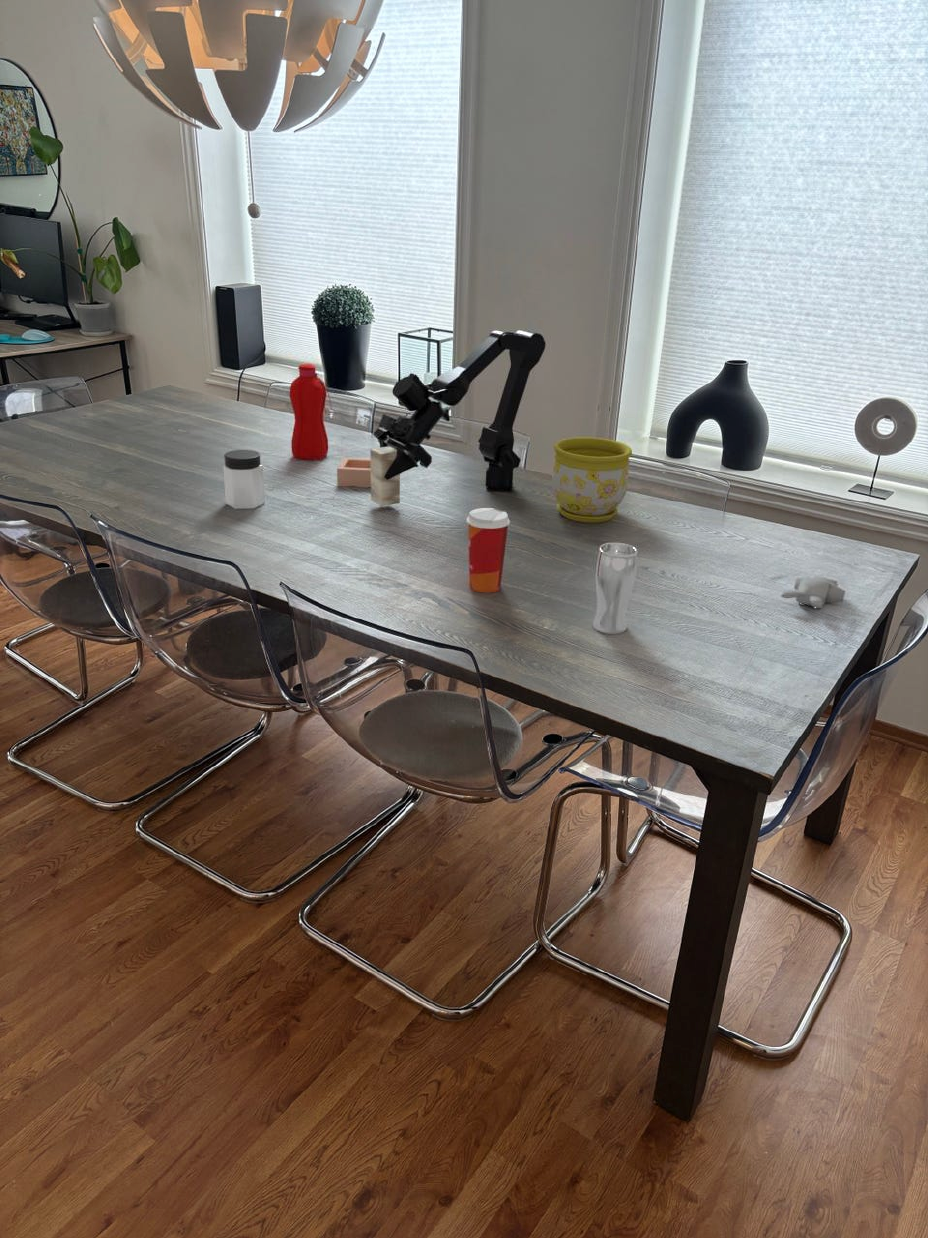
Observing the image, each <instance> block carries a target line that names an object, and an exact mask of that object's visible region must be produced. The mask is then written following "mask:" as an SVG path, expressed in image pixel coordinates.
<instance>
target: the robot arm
mask: <svg viewBox="0 0 928 1238" xmlns="http://www.w3.org/2000/svg"><path fill="white" fill-rule="evenodd" d="M506 350H508V351H509V352H508V353H509V360H510V367H509V370H508V373H507V378H506V381H505V384H504V387H503V391H502V394H501V397H500V400H499V404H498V406H497V411H496V413H495V417H494V420H493V422H492V423H491V424H490V425H489V427H487V426H483V428H482V429H481V434H480V435H481V436H480V437H479V439H478V443H479V444H478V449H479V451H480V454H481V455H482V457H483V461H484V462H486V463H488V467H487V468H486V470H485V487H487V488H486V491H488V492H489V491H490V492H508V493H510V492H511V493H512V492H514V491H513V490H514V487H513V486H514V483H513V482H514V481H513V480H514V469H517V468H519V466H520V463H521V461H522V460H521V458H520V456H519V455H517V453H515V451H514V445H515V436H514V430H513V428H514V423H515V420H516V417H517V415H518V411H519V408H520V405H521V402H522V399H523V396H524V392H525V389H526V386H527V382H528V379H529V376H530V374H531V373H530V372H531V371H532V370H533V369H534V368H535V366H537V364H539V362H540V361H541V358H542V356H543V354H544V352H545V350H546V341H545V337H544V336H543V335H542V334H541V333H538V332H533V331H530V330H527V329H518V330H517V331H516V332H509V331H501V330H498V329H496V330H493V331H491V332H490V333H489V336H488V337H487V338H486V339H485V340H484V341H482V343H481V344H480V345H478V346H477V348H475V349H474V351H473V352H471V353H470V354H469V355H468V356H467V357H466V358H465V359H463V361H462V362H461V363H460V364H459V365H457V366H456V367H455V368H453V369H450V370H447V371H445V372H443V373H442V374H440V375H439V376H437V377H436V378H434V379H433V380H432V382H429V383H423V381H422V380H421V379H420V377H419V376H418V375H417V374H416V373H413V372H410V373H409V374H408V376H405V377H403V378H401V379H400V380H398V381H397V382H396V383H395V384H394V385H393V388H392V394H393V396H395V398H396V399H397V401H399V402H400V403H401V404H402V405H403V406H404V407H405V409H406V410H408V412H413V413H412V414H411V416H410V417H407V416H406V417H403V416H398V418H395V417H392V416H391V415H387V414H385V413H382V416H381V419H380V421H379V423H378V428H377V429H376V430H375V431H374V433H372V435H373V437H375V438H376V439H377V441H378V444H379V448H380V447H387V446H390V447H392V448H394V449H396V450H397V457H396V459H395V460H394V462H393V463H392V465H391V466H390V468H389V469H388V471H387V473H386V474H385V476H384V478H385V479H387V480H388V479H390V478H392V477H394V476H396V475H398V474H400V475H401V474H403V473H404V472H406V471H407V472H408V471H409V470H411V469H413V468H419V465H420V466H421V467H423V468H425V469H428V468H429V466H430V465H431V464H432V462H433V456H432V455H431V454H430V453H429V452H428V451H427V450H426V449H425V448H424V447H423V446H422V445H421V444H422V443H423V442H424V441H425V440H428V441H429V440H430V439H431V437H432V435H430V433H431V432H432V431H433V429H434V427H436V425H437V424H438V423H439V421H440V420H443V421H445V422H450V420H451V419H450V409H448V408H446V407H442V406H441V405H440V403H441V404H444V405H446V406H449V407H454V406H457V405H459V404H460V402H461V401H462V400H463V399H464V397H465V396H466V394H468V391H469V389H470V385H471V384H472V383H473V381H474V380H475V379H476V378H477V377H479V375H480V374H481V373H483V371H485V370H486V368H488V366H489V365H491V364H492V363H493V362H494V361H495V360H496V359H497V358H499V356H501V354H502V353H503V352H504V351H506ZM430 398H431V399H433V400H431V399H430ZM418 463H419V464H418Z"/></svg>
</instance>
